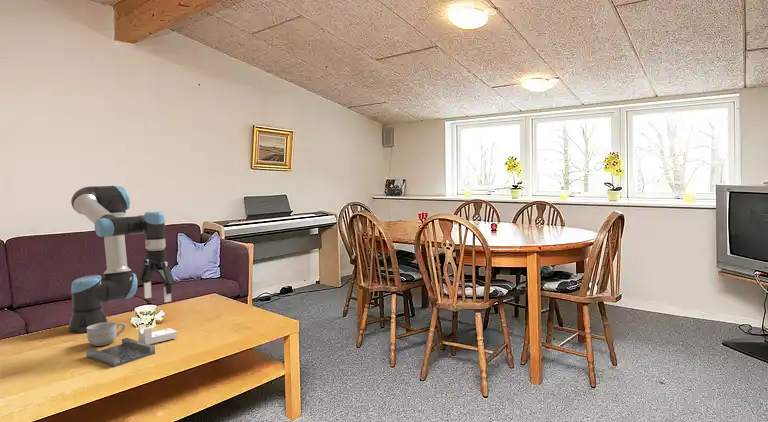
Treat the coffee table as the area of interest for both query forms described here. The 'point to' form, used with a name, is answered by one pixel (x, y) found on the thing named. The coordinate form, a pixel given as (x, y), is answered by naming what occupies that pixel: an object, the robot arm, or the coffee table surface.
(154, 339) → the bracket
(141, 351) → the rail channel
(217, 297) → the coffee table surface
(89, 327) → the teacup
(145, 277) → the robot arm
